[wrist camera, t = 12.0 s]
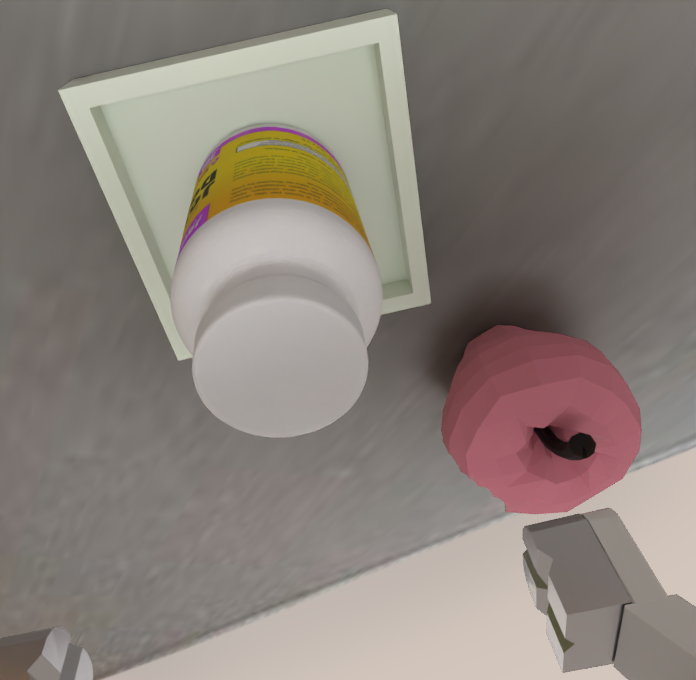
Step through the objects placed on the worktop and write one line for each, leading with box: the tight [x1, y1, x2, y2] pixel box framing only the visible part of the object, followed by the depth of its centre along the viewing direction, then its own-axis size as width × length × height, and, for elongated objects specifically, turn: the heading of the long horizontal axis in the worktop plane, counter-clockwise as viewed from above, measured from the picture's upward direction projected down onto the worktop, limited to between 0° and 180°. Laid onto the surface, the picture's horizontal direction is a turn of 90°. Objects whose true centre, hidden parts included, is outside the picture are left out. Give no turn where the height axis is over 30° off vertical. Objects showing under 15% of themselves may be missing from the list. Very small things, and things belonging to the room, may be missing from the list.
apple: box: [441, 325, 641, 514], centre depth 29 cm, size 10×9×10 cm
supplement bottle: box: [170, 124, 383, 437], centre depth 21 cm, size 7×7×13 cm
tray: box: [58, 9, 431, 361], centre depth 26 cm, size 13×13×2 cm
